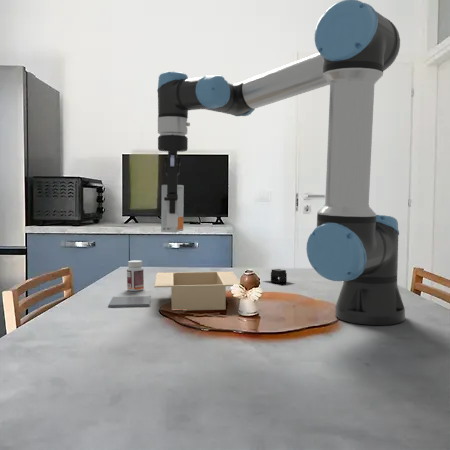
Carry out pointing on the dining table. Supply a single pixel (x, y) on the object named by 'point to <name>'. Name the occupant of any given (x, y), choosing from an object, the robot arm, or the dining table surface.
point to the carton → (197, 289)
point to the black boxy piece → (281, 275)
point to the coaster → (130, 301)
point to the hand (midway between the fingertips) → (172, 225)
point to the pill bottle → (135, 276)
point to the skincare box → (180, 210)
